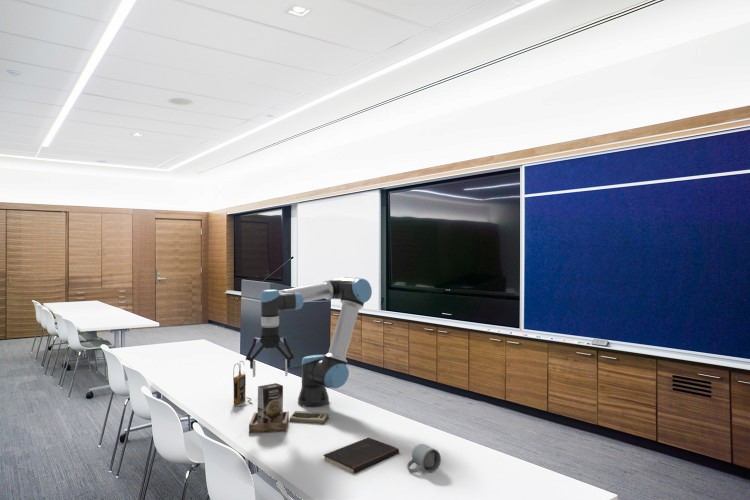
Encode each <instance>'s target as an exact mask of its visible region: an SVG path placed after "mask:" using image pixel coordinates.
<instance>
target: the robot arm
mask: <svg viewBox="0 0 750 500" xmlns="http://www.w3.org/2000/svg"><path fill="white" fill-rule="evenodd" d="M372 289H373V288H372V285H371V284H370V282H369V281H368V280H367V279H365V278H361V277H348V276H346V277H345V276H343V277H337V278H334V279H329V280H324V281H323V282H322V283H318V284H310V285H305V286H299V287H294V288H288V289H282V290H279V289H264V290H262V292H261V294H260V315H261V316H260V317H261V318H260V320H261V321H260V325H261V328H260V334H261V335H260V337H254V338H253V342H252V345H251V347H250V349H249V351H248V353H247V355H246V357H245V361H249V363H250V364H249V367H250V369H251V370H252V378H255V377H256V360H255V359H256V358H257V356H258V355H260V353H261V352H262V351H263V349H264V348H265V349H274V348H276V349H277V350H278V352H280V354H282V356H283V357H284V358H285V360H284V361H285V363H284V364H285V369H284V371H285V372H284V374H285V375H284V376H285V377H288V369H289V368H290V367H291V360H293V359H295V354H294V352H293V351H292V348H291V347H290V344H289V343H288V340H287V336H284V337H280V326H279V325H280V312H284V311H285V312H286V311H295V310H300V309H302V308H303V306H304V303H308V302H312V301H318V300H323V299H325V300H327V301H328V300H340V303H341V308H340V312H339V315H338V319H337V322H336V325H335V329H334V331H333V336H332V339H331V342H330V346H329V349H328V352H327V353H326V354H313V355H307V356H304V357H303V358H302V359H301V389H300V391H299V395H298V398H297V403H298V405H300V406H301V407H307V408H314V407H322V406H325V405H327V404H329V401H330V397H329V394H328V391H327V388H329V389H330V388H331V389H338V388H341V387H343V386H344V385H345V384H346V382H347V381H348V379H349V376H350V374H349V373H350V371H349V368H348V366H347V364H348V360H347V358H346V357H347V352H348V350H349V347H350V346H349V345H350V343H351V339H352V335H353V333H354V328H355V325H356V322H357V318H358V316H359V315H358V314H359V311H360V310H361V309H363V308H364V304H365V303H367V302H368V301H370V299H371V297H372V293H373V291H372ZM259 342H260V343H261V345H260V347H259V348H258V349H257V351H256V352H255V353H254V354H253V351H254V349H255V347H256V345H257V344H258V343H259ZM280 342H281V343H283V345H284V347H285V349H286V351H287V352H288V353H287V352H286V351H285V350H284V348H283V347H282V346H281V345H280ZM252 354H253V355H252ZM251 355H252V356H251Z"/></svg>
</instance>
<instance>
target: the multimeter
mask: <svg viewBox="0 0 750 500" xmlns="http://www.w3.org/2000/svg"><path fill="white" fill-rule="evenodd" d="M241 362H242V363H243V364H245V363H244V361H243V360H239V363H237V362H236V363H235V364H234V366H233V368H235V367H236V365H238V375H236V376H235V370H233V380H232V381H233V405H234V406H235V407H237V408H239V407H245V406H247V405H249V404H250V405H253V402H251V400H252V398H250V397H248V399H249V400H247V402H248V404H242V405H240V404H241V403H243V402H245V401H246V399H247V397H246V383H247V382H246V379H247V378H246V376H247V375H246V374H245V373H242V371H241V369H242V368H241V365H240V363H241ZM238 405H239V406H238Z"/></svg>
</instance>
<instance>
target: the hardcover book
mask: <svg viewBox="0 0 750 500" xmlns="http://www.w3.org/2000/svg"><path fill="white" fill-rule="evenodd" d="M399 454H400V449H399V448H397V447H396V446H393V445H390V444H387V443H384V442H382V441H379V440H377V439H375V438H372V437H369V436H368V437H366V438H363V439H360V440H359V441H356V442H353V443H350V444H348V445H346V446H341V447H340V448H338V449H335V450H332V451H329V452H327V453H325V454H323V457H324V461H327V462H328V463H331V464H332V465H335V466H336V467H339V468H342V469H344V470H346V471H348V472H350V473H352V474H357V473H359V472H362V471H363V470H364V471H365V470H367V469H368V468H371V467H372V466H375V465H377V464H379V463H381V462H384V461H386V460H388V459H390V458H392V457H395V456H397V455H399Z"/></svg>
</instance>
